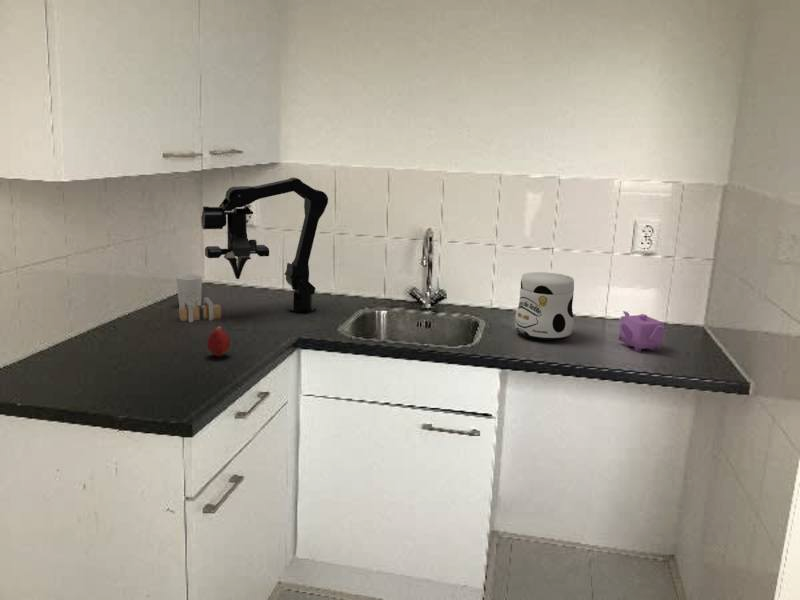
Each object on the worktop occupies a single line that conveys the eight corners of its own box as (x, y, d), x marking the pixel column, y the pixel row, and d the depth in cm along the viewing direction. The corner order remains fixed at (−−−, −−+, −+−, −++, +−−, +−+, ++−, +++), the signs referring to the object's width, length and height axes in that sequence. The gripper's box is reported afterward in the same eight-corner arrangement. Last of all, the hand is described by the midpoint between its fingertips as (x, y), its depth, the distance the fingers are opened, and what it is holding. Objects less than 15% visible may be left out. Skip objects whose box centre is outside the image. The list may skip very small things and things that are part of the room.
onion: (218, 361, 181) (218, 331, 179) (202, 357, 184) (201, 327, 182) (235, 356, 186) (234, 326, 184) (219, 351, 189) (218, 322, 187)
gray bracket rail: (206, 311, 228) (206, 295, 227) (213, 320, 218) (212, 303, 217) (183, 313, 225) (182, 296, 224) (189, 322, 215) (188, 304, 214)
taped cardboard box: (218, 315, 225) (218, 304, 224) (221, 318, 222) (221, 306, 221) (179, 318, 220) (178, 307, 219) (181, 321, 216) (180, 309, 216)
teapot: (599, 340, 213) (603, 308, 211) (636, 337, 218) (640, 306, 215) (638, 358, 197) (642, 324, 195) (677, 355, 201) (681, 321, 199)
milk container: (506, 338, 212) (510, 278, 207) (522, 325, 227) (527, 269, 223) (565, 347, 204) (570, 286, 200) (577, 333, 220) (583, 275, 216)
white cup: (198, 310, 230) (197, 279, 227) (174, 309, 230) (173, 278, 227) (205, 304, 237) (204, 274, 235) (181, 303, 237) (180, 273, 235)
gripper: (210, 233, 208) (211, 285, 212) (273, 231, 216) (273, 282, 220) (204, 227, 218) (205, 278, 222) (264, 226, 226) (264, 275, 229)
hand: (237, 278), depth 223 cm, fingers closed
